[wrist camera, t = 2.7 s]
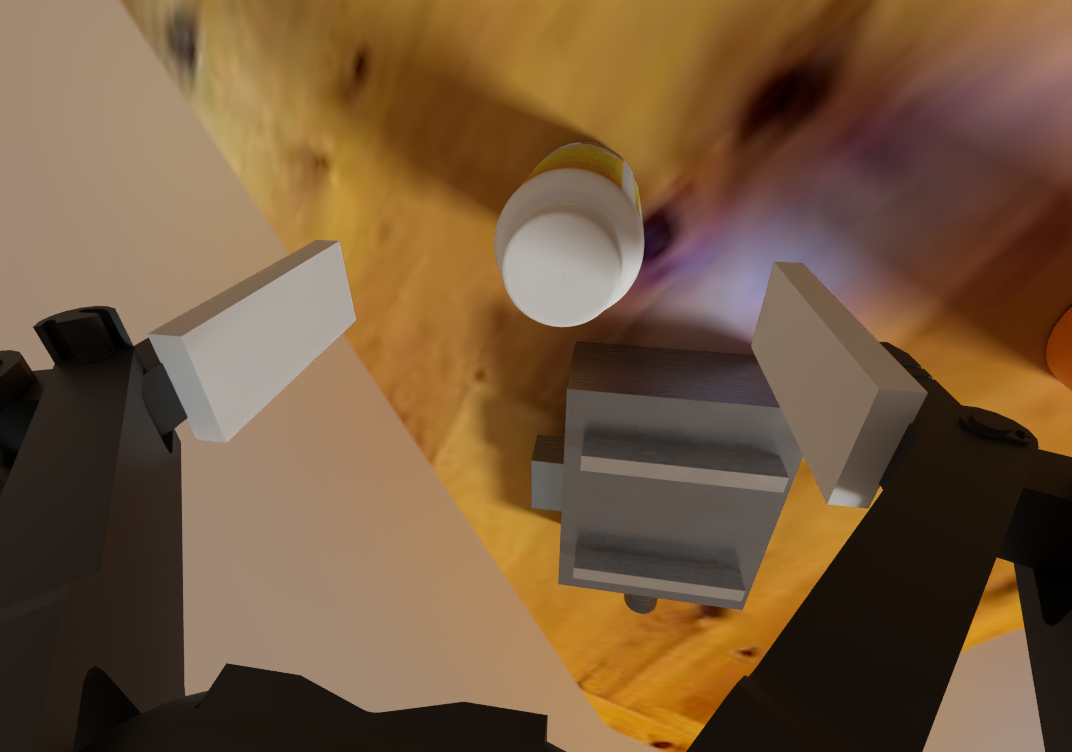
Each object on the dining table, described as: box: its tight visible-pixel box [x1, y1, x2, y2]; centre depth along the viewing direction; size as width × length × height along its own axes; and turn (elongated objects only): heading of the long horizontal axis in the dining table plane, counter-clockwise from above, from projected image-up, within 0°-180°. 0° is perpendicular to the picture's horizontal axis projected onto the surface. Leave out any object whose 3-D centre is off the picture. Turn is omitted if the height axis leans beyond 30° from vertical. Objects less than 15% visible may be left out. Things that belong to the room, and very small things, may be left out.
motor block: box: [531, 342, 803, 614], centre depth 31 cm, size 20×14×6 cm
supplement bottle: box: [494, 142, 644, 327], centre depth 20 cm, size 6×6×10 cm
